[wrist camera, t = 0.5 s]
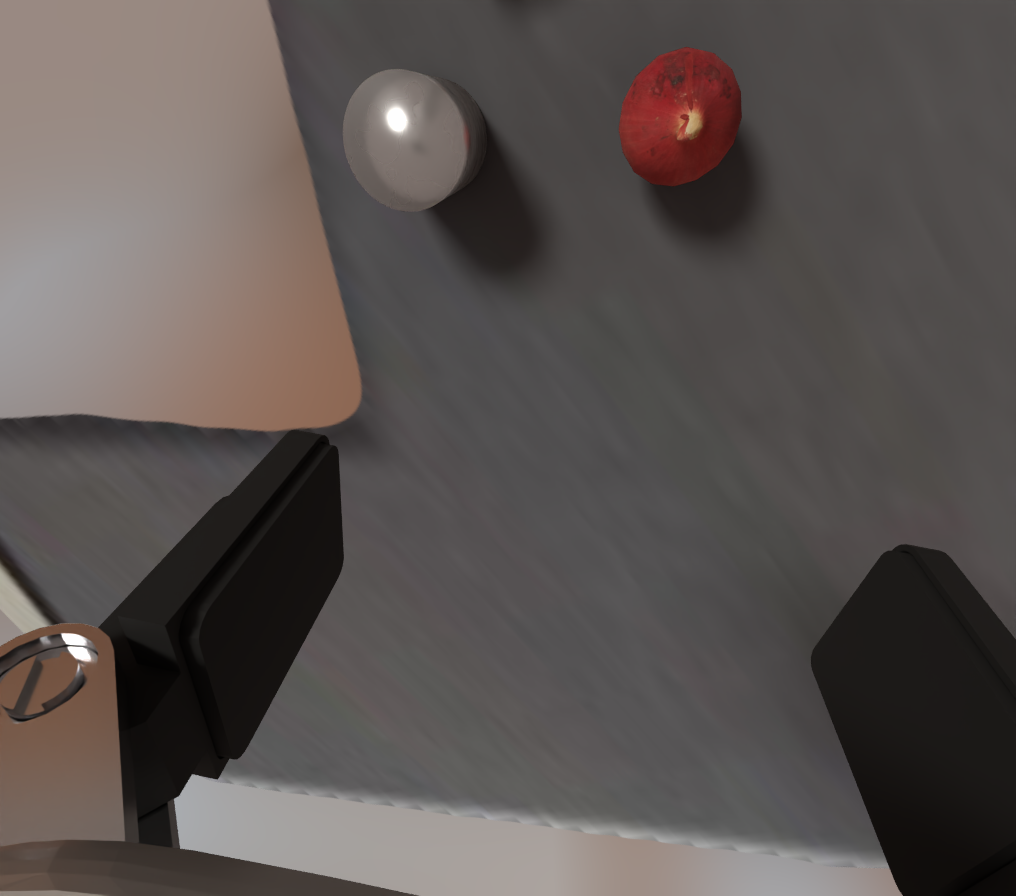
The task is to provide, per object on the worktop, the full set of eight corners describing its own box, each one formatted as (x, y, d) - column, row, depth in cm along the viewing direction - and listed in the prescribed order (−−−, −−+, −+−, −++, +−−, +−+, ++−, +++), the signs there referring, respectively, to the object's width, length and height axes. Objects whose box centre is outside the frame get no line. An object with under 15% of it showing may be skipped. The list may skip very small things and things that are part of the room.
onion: (607, 76, 29) (613, 65, 22) (719, 38, 28) (761, 15, 21) (625, 190, 32) (635, 210, 25) (727, 161, 30) (766, 175, 24)
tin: (390, 68, 30) (341, 58, 24) (493, 87, 30) (470, 81, 24) (386, 184, 34) (343, 199, 28) (480, 202, 33) (457, 221, 27)
